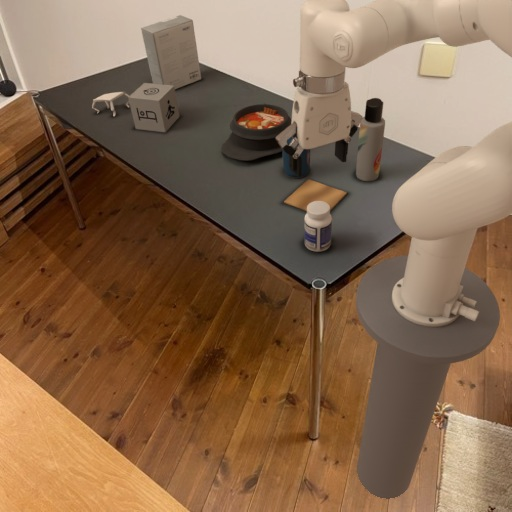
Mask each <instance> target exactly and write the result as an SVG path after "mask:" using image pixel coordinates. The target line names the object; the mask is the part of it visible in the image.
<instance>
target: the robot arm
mask: <svg viewBox="0 0 512 512" xmlns="http://www.w3.org/2000/svg"><path fill="white" fill-rule="evenodd" d="M350 9H351V8H350V5H349V3H348V1H347V0H305V1H304V2H303V4H302V5H301V7H300V16H299V17H300V18H299V20H300V22H299V25H300V26H299V70H298V76H297V78H293V79H292V84H293V87H294V88H296V89H295V93H294V97H293V103H292V109H291V110H292V111H291V120H292V122H291V125H290V126H289V127H287V128H286V129H285V130H284V131H282V132H281V133H280V134H279V135H278V136H276V141H277V142H278V144H279V145H280V147H281V148H282V149H283V150H284V151H285V152H286V153H287V154H289V168H290V170H291V171H293V172H294V173H295V174H296V175H297V176H301V175H302V158H301V157H300V154H301V153H302V151H303V150H304V149H310V150H313V149H315V148H318V147H323V146H326V145H329V144H332V143H334V157H336V158H337V159H338V160H339V161H340V162H341V163H346V162H347V157H348V151H349V144H350V143H351V142H352V139H353V136H354V135H355V134H356V133H357V132H358V130H359V128H358V127H360V122H361V120H362V118H363V117H364V116H363V115H362V114H360V113H359V112H356V111H354V110H353V111H352V100H351V92H350V86H349V83H348V82H346V68H347V69H358V68H361V67H363V66H366V65H368V64H370V63H371V62H373V61H375V60H378V58H380V57H382V56H385V54H388V53H389V52H391V51H393V50H395V49H397V48H399V47H402V46H406V45H409V44H412V43H413V44H414V43H416V42H417V43H418V42H421V41H426V40H430V39H435V38H439V39H440V40H441V41H442V43H444V44H445V45H446V46H448V47H453V48H457V47H462V46H463V47H464V46H468V45H473V44H476V43H481V42H484V41H485V42H486V41H490V42H491V43H493V44H494V45H495V46H496V47H497V48H498V49H499V50H501V52H503V53H504V54H506V55H507V56H509V57H510V58H512V0H374V1H372V2H370V3H367V4H365V5H363V6H360V7H359V8H355V9H352V10H350ZM290 137H292V138H293V140H292V141H291V143H290V144H289V145H288V144H287V140H288V139H289V138H290ZM298 143H299V145H298V146H297V144H298ZM296 146H297V148H296V149H295V147H296ZM391 208H392V209H391V213H392V217H393V220H394V222H395V224H396V225H397V227H398V228H399V229H400V230H401V231H402V232H403V233H404V234H406V235H408V236H409V237H411V239H410V240H411V241H410V244H409V248H408V249H409V250H408V254H407V255H408V259H407V264H406V270H405V275H404V278H402V279H401V280H399V281H398V282H397V283H396V284H395V286H394V288H393V291H392V302H393V305H394V307H395V309H396V310H397V311H398V312H399V314H400V315H401V316H403V317H404V318H406V319H407V320H409V321H411V322H413V323H415V324H418V325H422V326H428V327H439V326H444V325H447V324H450V323H452V322H453V321H455V320H456V319H457V318H458V317H459V315H462V316H465V318H468V319H470V320H472V321H476V319H477V317H478V314H479V311H477V310H474V309H472V308H474V307H475V305H476V302H477V301H475V300H472V299H469V298H466V297H464V295H463V294H461V293H462V289H463V286H461V285H460V282H461V279H462V276H463V272H464V269H465V268H466V265H467V263H468V259H469V256H470V252H471V249H472V247H473V243H474V242H475V237H476V234H477V231H478V229H479V228H482V227H485V226H488V225H489V226H490V225H491V224H494V223H496V222H499V221H502V220H504V219H506V218H508V217H509V216H510V215H512V121H510V122H508V123H506V124H503V125H501V126H499V127H497V128H495V129H494V130H492V131H491V132H490V133H488V134H487V135H486V136H484V137H483V138H482V139H481V140H480V141H478V142H477V143H476V144H475V145H473V146H469V145H461V146H455V147H452V148H448V149H447V150H445V151H443V152H441V153H440V154H439V155H437V156H435V157H434V158H433V159H432V160H431V161H430V162H428V163H427V164H425V165H424V166H423V167H422V168H421V169H420V170H419V171H417V172H416V173H415V174H413V175H412V176H411V177H409V178H408V179H407V180H406V181H404V183H402V185H400V187H399V188H398V189H397V190H396V192H395V194H394V196H393V198H392V205H391ZM463 304H466V305H467V306H470V307H472V308H468V307H466V306H463Z"/></svg>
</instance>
